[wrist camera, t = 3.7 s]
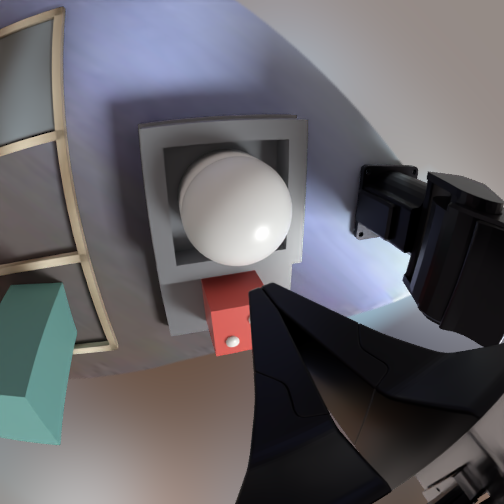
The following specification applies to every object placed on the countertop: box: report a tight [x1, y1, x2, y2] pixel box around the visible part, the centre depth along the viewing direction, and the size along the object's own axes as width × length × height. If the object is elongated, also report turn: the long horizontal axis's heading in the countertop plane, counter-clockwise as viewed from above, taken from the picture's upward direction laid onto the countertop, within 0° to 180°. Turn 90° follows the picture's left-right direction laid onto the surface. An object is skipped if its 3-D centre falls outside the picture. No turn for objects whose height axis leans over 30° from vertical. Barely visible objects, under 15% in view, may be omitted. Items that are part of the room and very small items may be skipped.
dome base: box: [138, 114, 308, 356], centre depth 20 cm, size 10×16×5 cm, turn 0°
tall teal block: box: [0, 282, 77, 445], centre depth 15 cm, size 5×5×11 cm
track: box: [0, 7, 118, 354], centre depth 16 cm, size 11×26×1 cm, turn 0°
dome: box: [178, 149, 292, 266], centre depth 17 cm, size 6×6×6 cm
